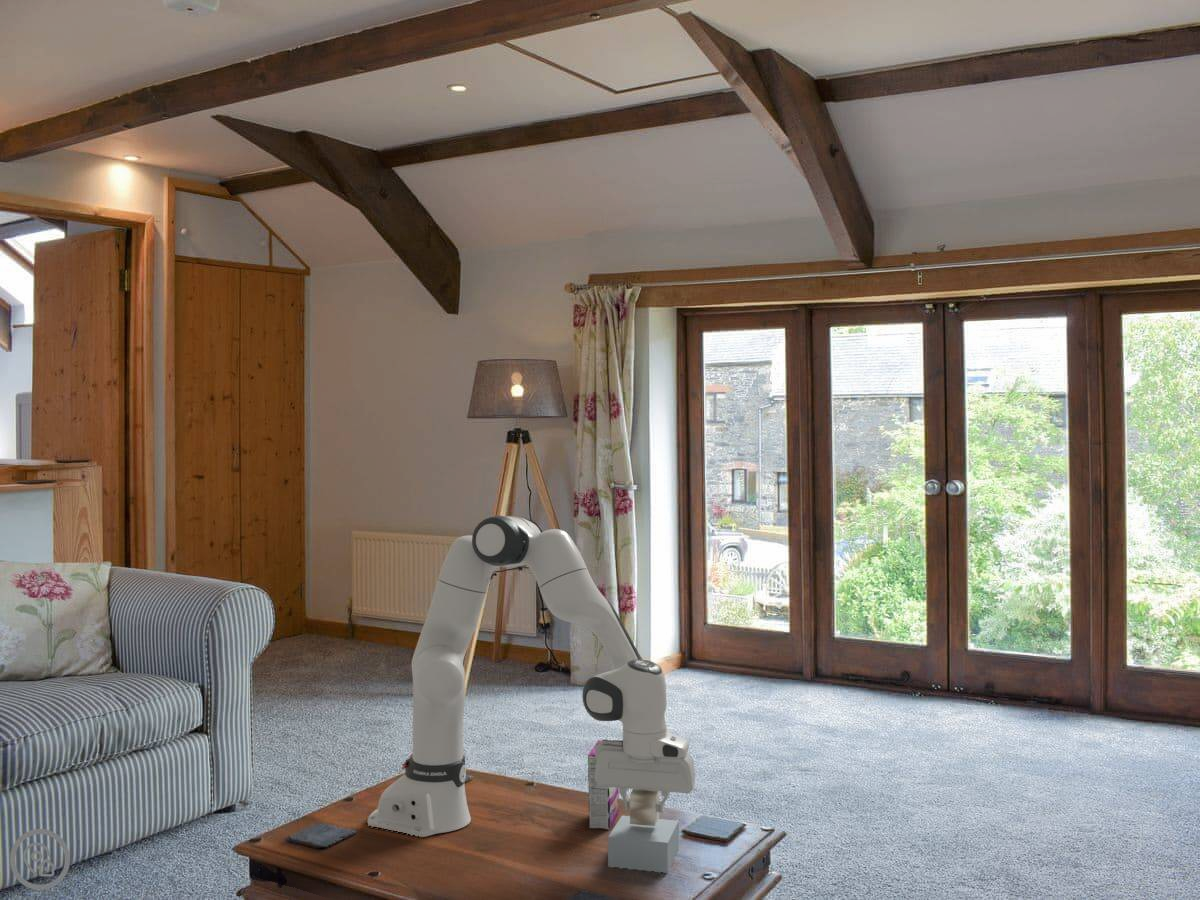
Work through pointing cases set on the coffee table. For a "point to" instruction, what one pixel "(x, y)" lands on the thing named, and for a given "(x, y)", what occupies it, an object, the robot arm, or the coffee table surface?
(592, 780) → the candy bar box
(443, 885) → the coffee table surface
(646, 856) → the slate block
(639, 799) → the cream block
